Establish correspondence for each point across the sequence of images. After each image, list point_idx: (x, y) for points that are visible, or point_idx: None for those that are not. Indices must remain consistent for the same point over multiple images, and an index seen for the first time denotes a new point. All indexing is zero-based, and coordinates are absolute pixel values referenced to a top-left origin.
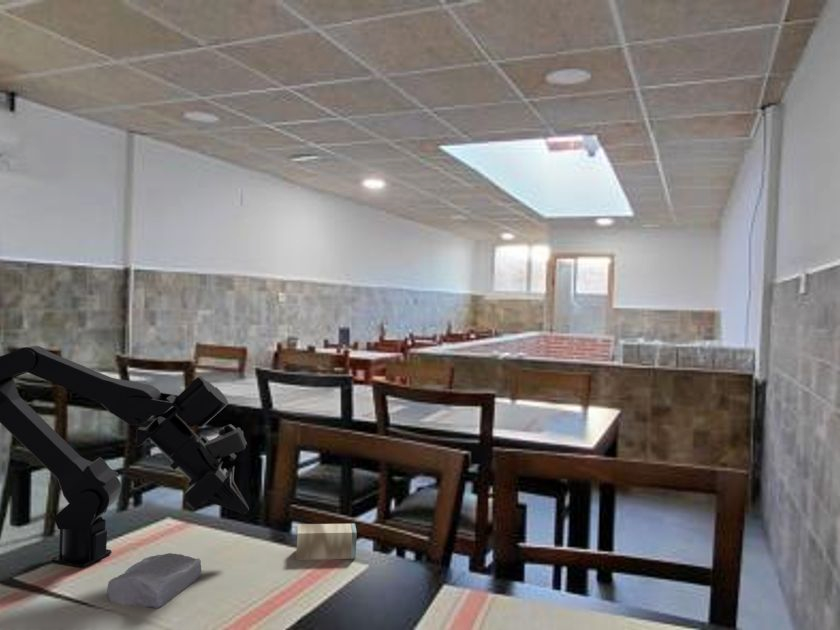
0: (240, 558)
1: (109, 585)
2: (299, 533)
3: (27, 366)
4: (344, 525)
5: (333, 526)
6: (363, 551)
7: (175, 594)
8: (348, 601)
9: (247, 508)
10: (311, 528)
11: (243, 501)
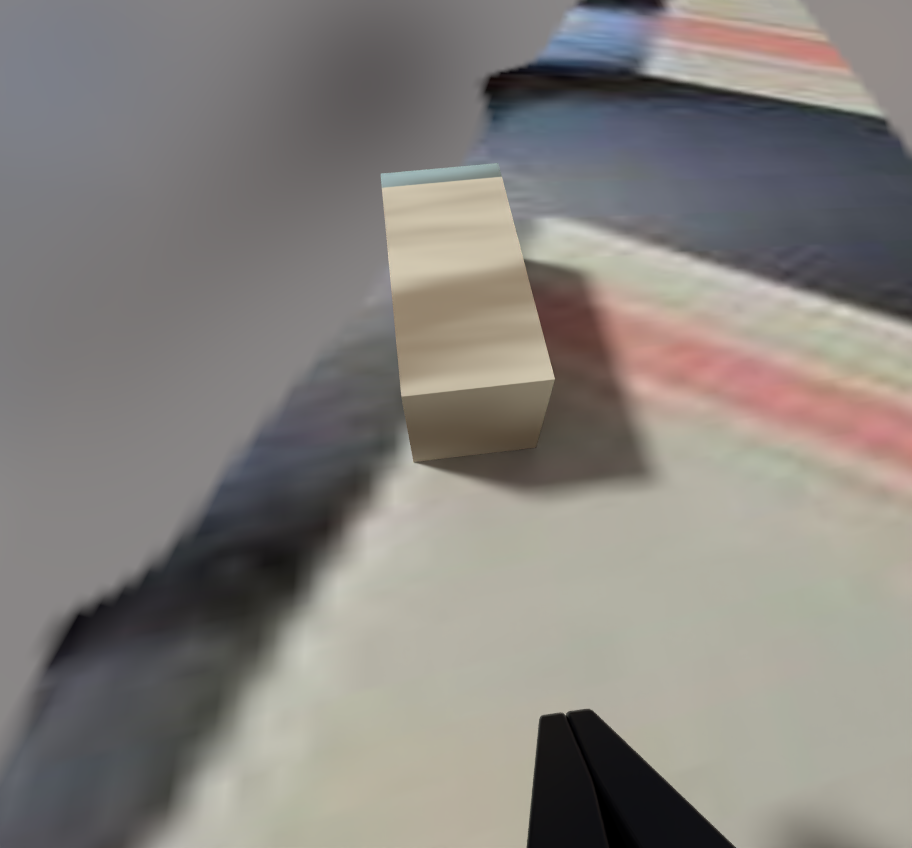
0: None
1: None
2: (551, 370)
3: None
4: (408, 205)
5: (427, 241)
6: None
7: None
8: (845, 251)
9: (599, 718)
10: (465, 325)
11: (624, 784)
